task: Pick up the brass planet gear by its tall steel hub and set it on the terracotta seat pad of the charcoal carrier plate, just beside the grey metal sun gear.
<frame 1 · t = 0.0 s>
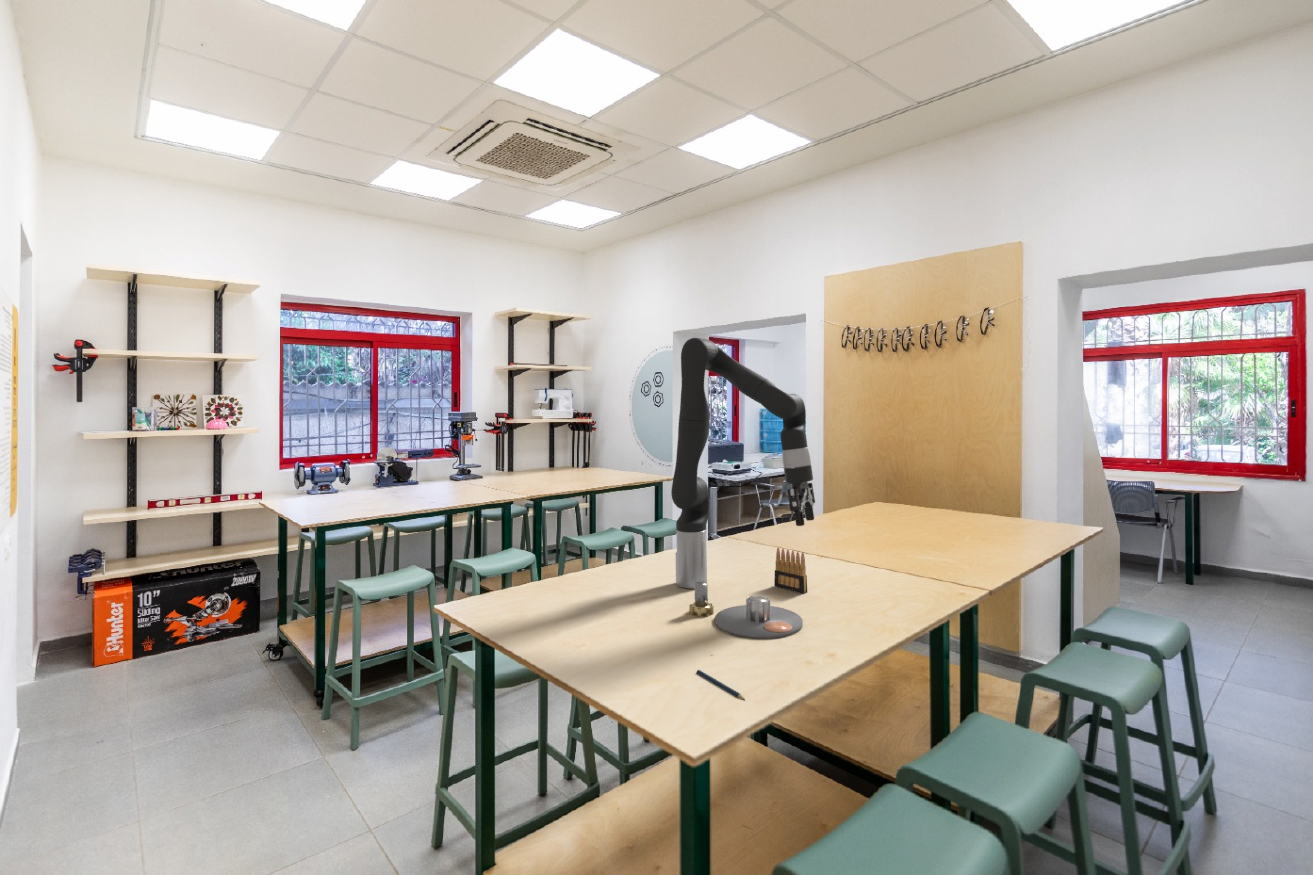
hand: (805, 522, 175), 22 cm above the table, tool pointing down, fingers open, 8 cm apart
carrier plate: (758, 622, 161), on the table
pencil: (720, 688, 126), on the table
ammunition clip: (790, 590, 189), on the table
planet gear: (701, 612, 170), on the table
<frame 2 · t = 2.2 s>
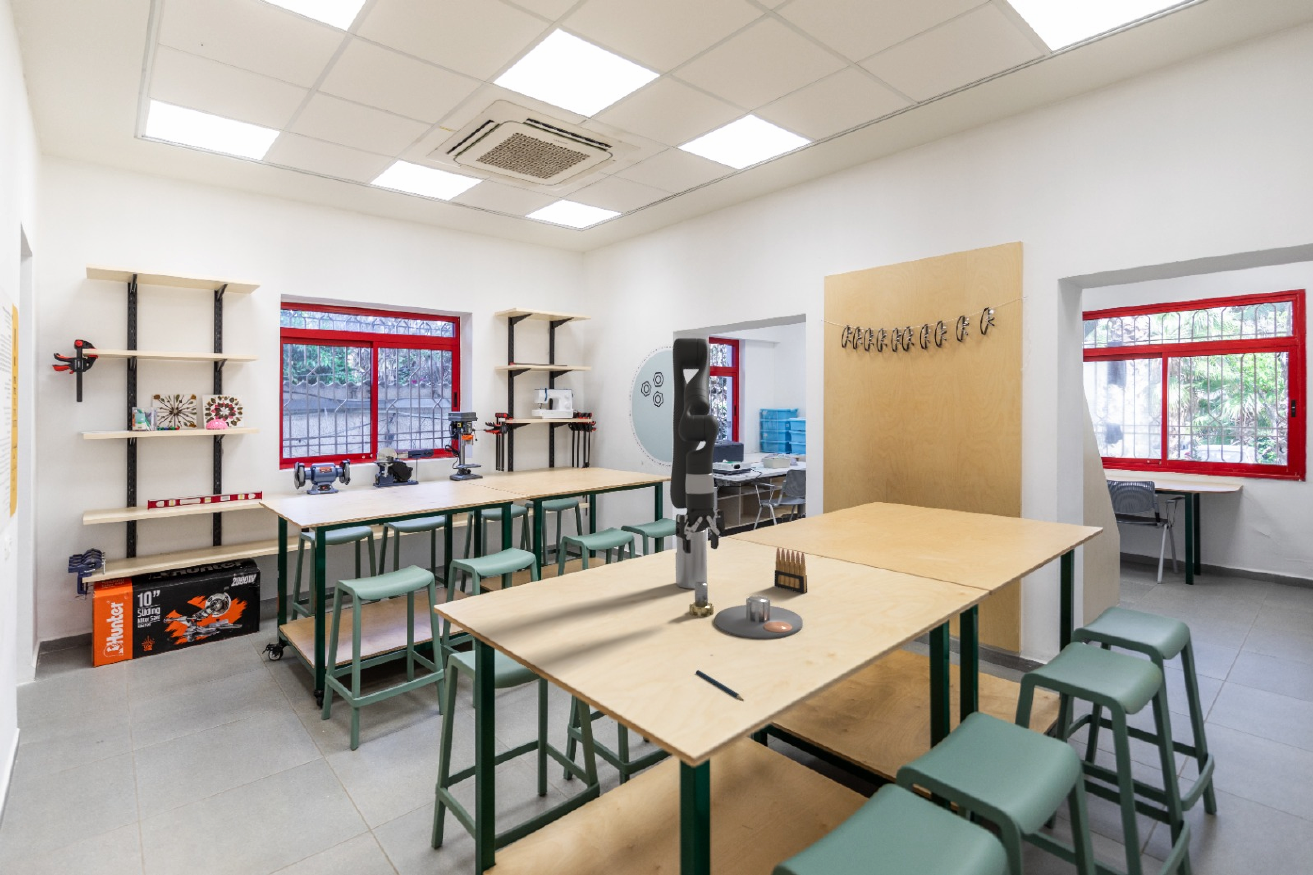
hand: (700, 550, 169), 17 cm above the table, tool pointing down, fingers open, 8 cm apart
nothing on the table moved.
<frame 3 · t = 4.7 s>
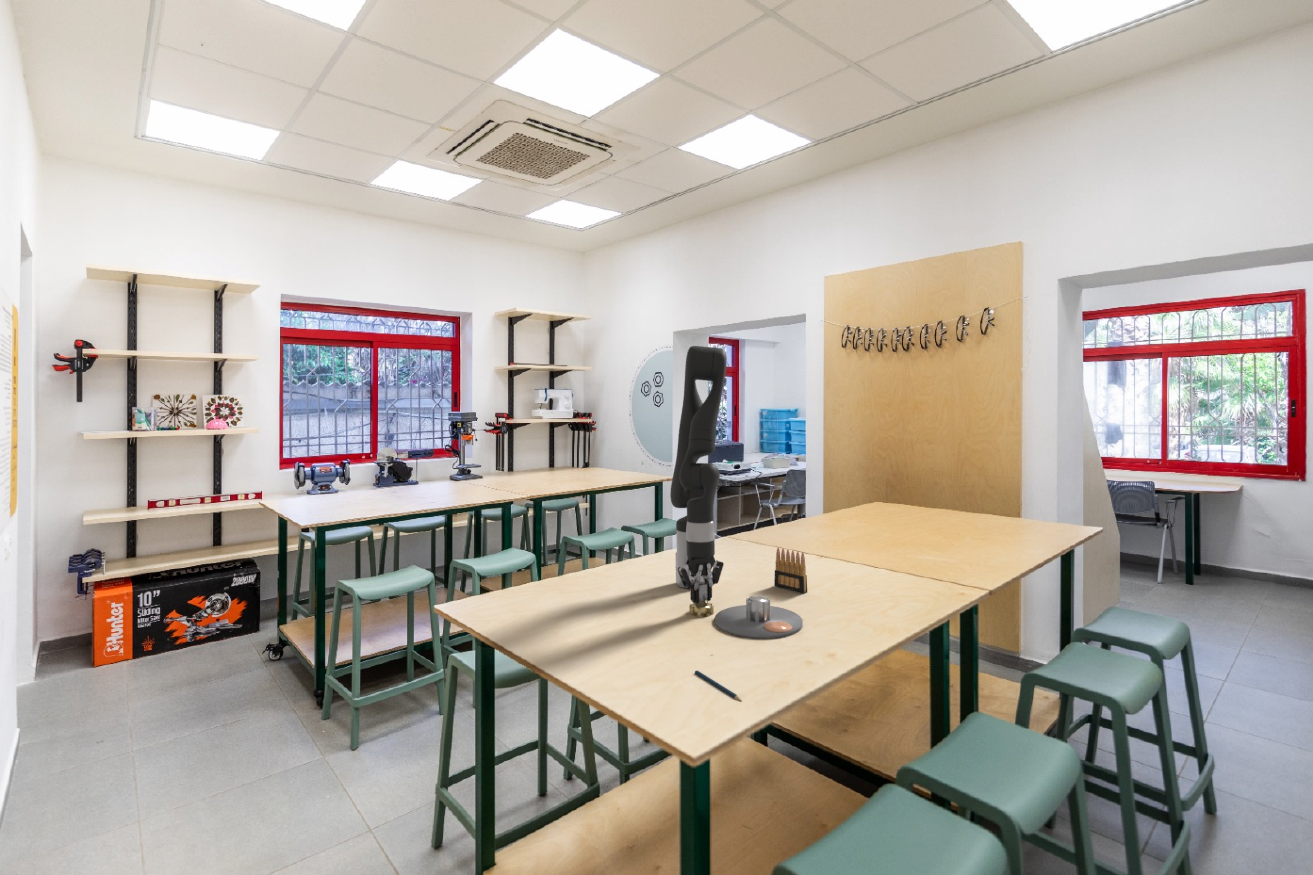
hand: (701, 601, 169), 3 cm above the table, tool pointing down, fingers closed on planet gear, 3 cm apart
planet gear: (701, 612, 170), on the table, touching gripper
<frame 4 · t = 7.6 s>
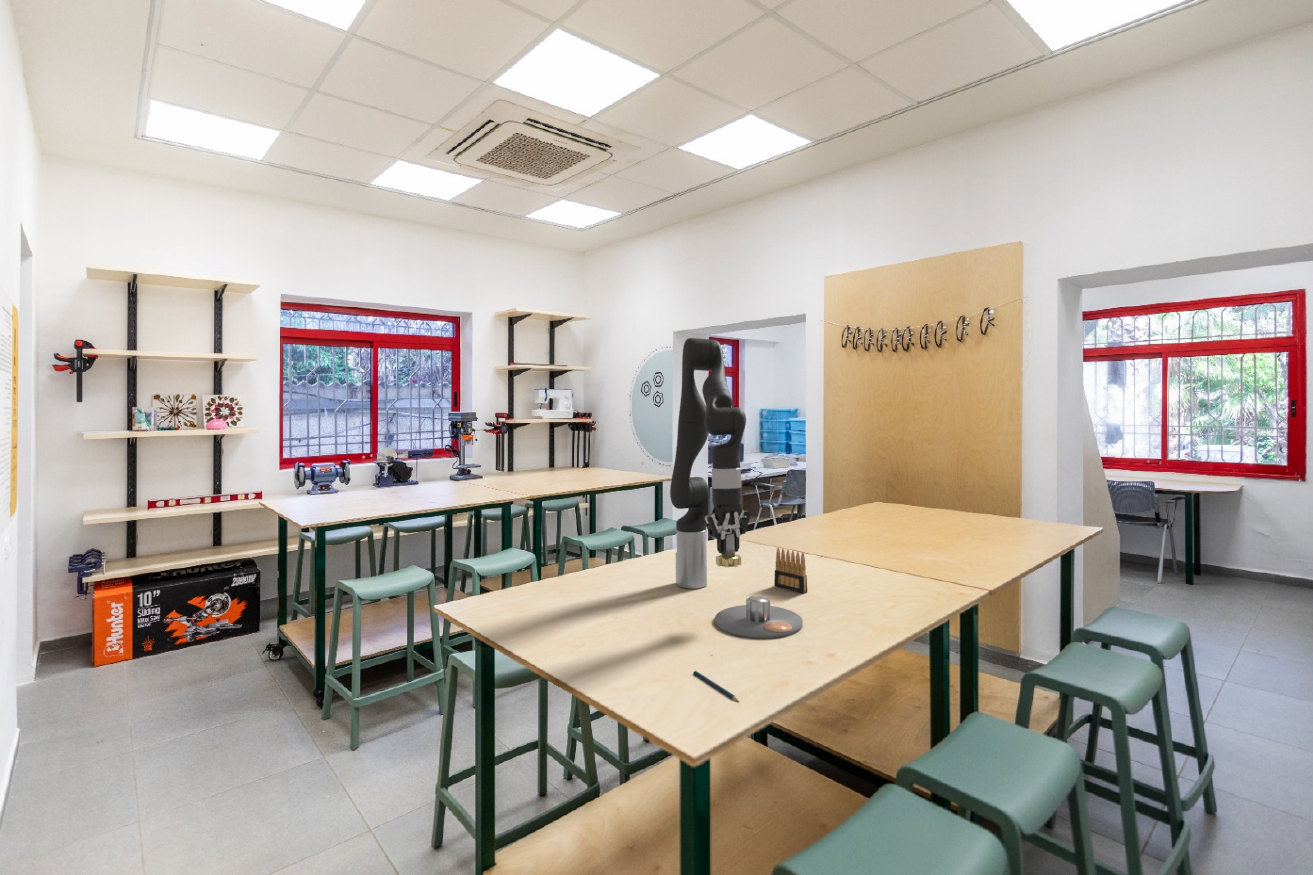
hand: (728, 552, 162), 18 cm above the table, tool pointing down, fingers closed on planet gear, 3 cm apart
planet gear: (728, 564, 163), point 15 cm above the table, touching gripper
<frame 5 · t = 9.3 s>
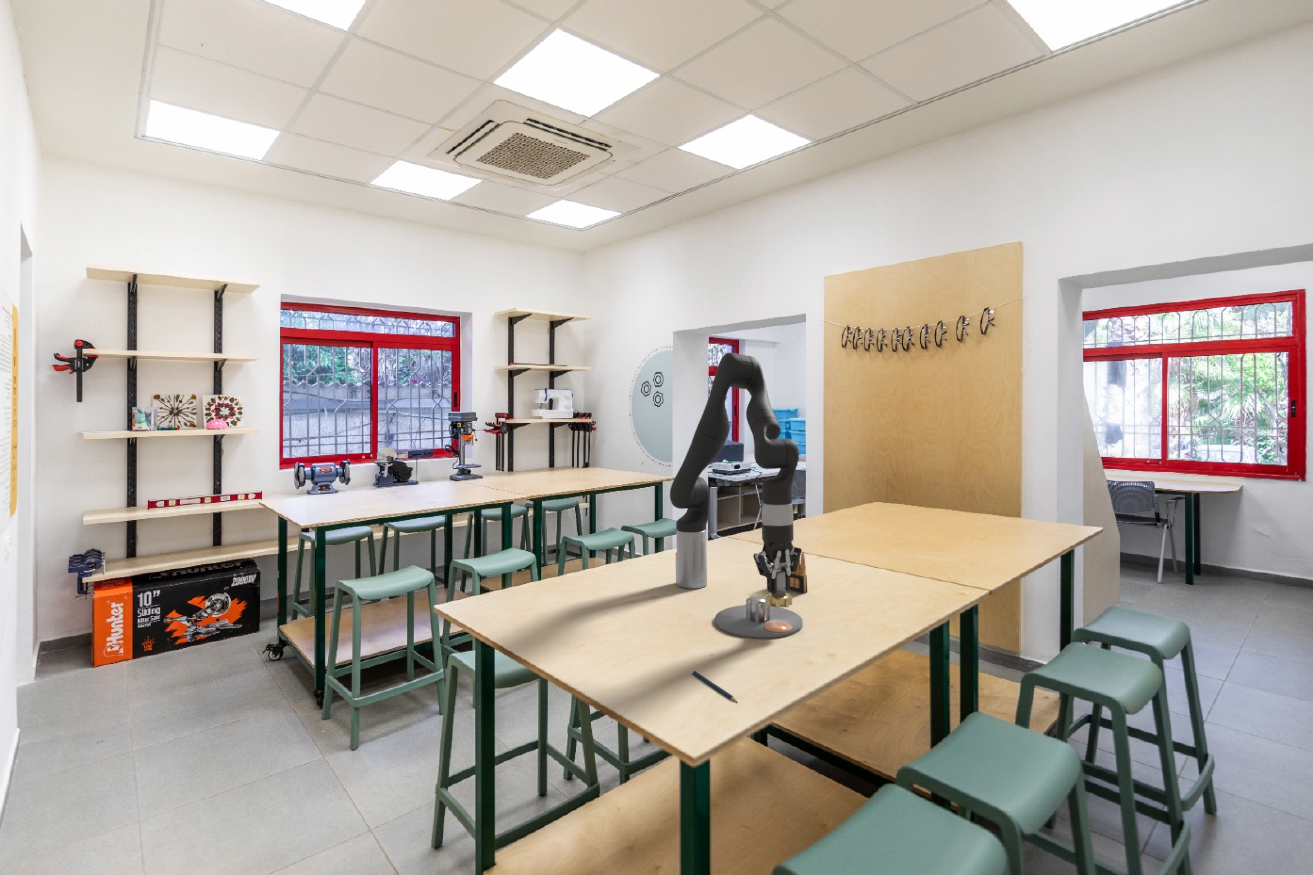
hand: (778, 591, 154), 10 cm above the table, tool pointing down, fingers closed on planet gear, 3 cm apart
planet gear: (778, 603, 154), point 7 cm above the table, touching gripper
when the fingers open (5 cm above the table, at t = 10.8 s): planet gear stays where it is, resting on carrier plate.
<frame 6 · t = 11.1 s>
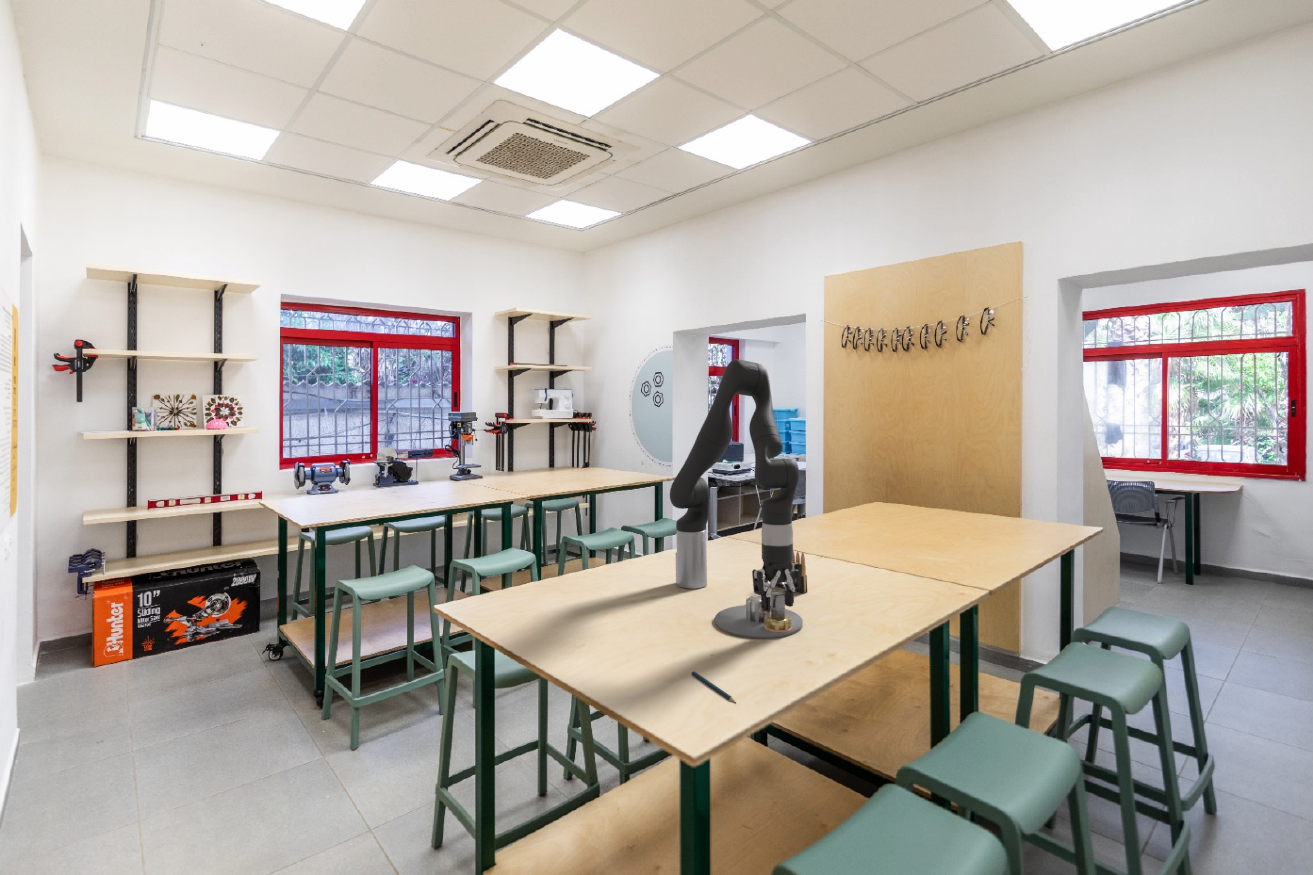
hand: (777, 608, 155), 6 cm above the table, tool pointing down, fingers open, 6 cm apart
planet gear: (778, 626, 155), point 1 cm above the table, touching carrier plate
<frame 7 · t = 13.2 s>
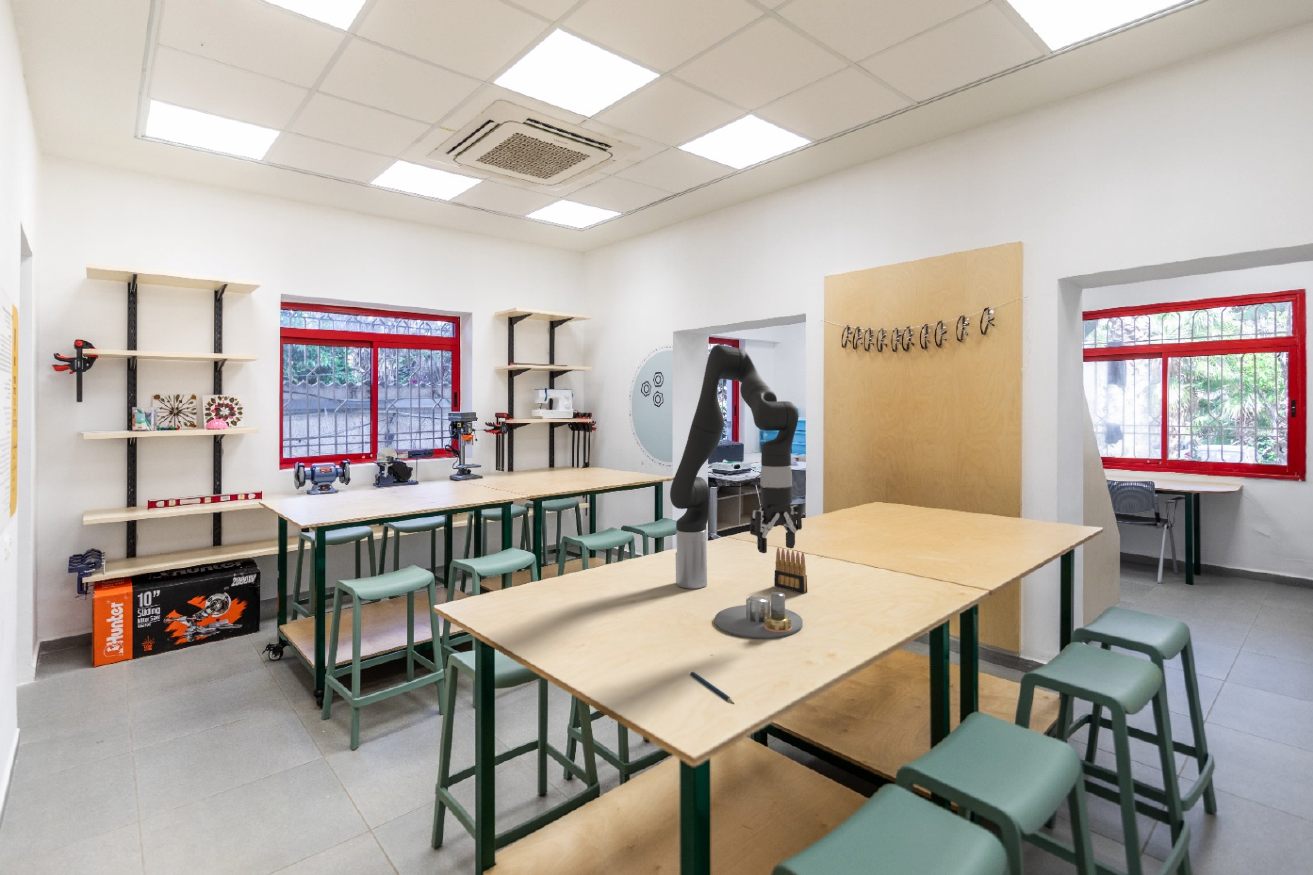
hand: (776, 550, 154), 20 cm above the table, tool pointing down, fingers open, 8 cm apart
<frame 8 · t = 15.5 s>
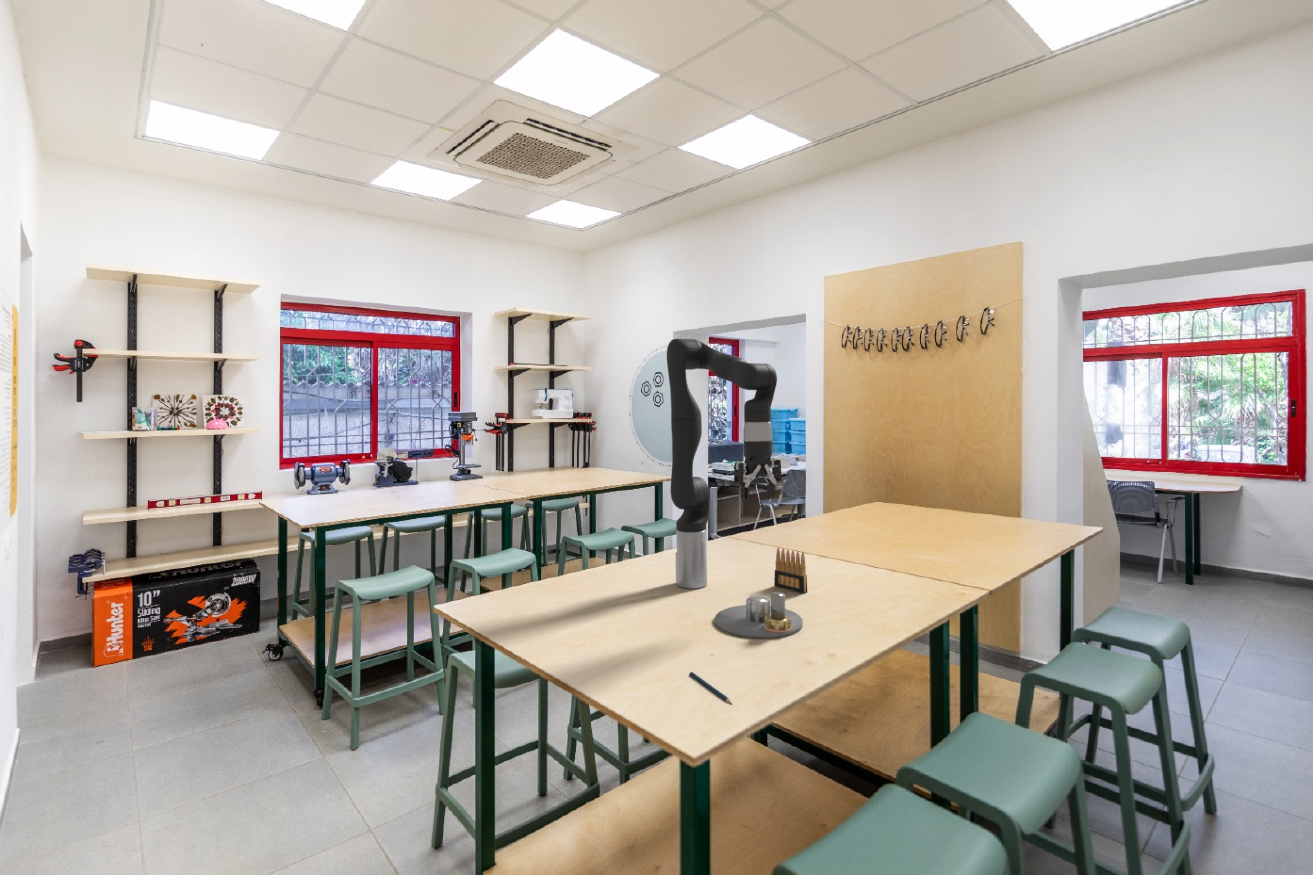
hand: (758, 499, 169), 30 cm above the table, tool pointing down, fingers open, 8 cm apart
at the end: planet gear 0.0 cm from the target spot on the carrier plate, point 1.3 cm above the carrier plate's base; planet gear tilted 0°; the gripper is holding nothing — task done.
